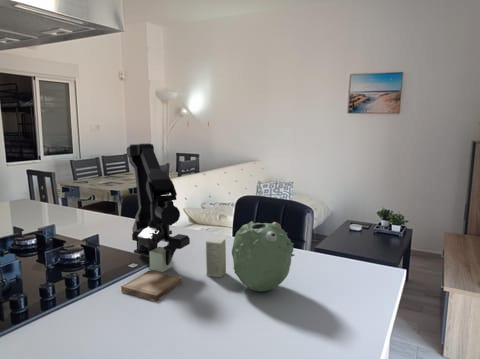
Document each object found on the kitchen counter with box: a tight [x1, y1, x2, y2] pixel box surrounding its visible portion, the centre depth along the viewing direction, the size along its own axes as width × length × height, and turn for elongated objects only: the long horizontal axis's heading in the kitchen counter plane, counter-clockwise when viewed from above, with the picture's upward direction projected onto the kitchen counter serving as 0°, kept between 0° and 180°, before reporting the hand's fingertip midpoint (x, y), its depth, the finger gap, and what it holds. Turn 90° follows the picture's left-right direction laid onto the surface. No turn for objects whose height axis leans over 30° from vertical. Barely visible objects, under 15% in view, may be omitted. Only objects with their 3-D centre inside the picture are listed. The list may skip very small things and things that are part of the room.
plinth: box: [120, 270, 183, 302], centre depth 103 cm, size 12×12×2 cm
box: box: [205, 237, 227, 278], centre depth 112 cm, size 5×4×11 cm
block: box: [149, 246, 173, 273], centre depth 116 cm, size 5×5×6 cm
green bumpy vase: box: [231, 220, 296, 293], centre depth 102 cm, size 16×19×20 cm
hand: (160, 263), depth 116 cm, fingers closed on block, 5 cm apart
